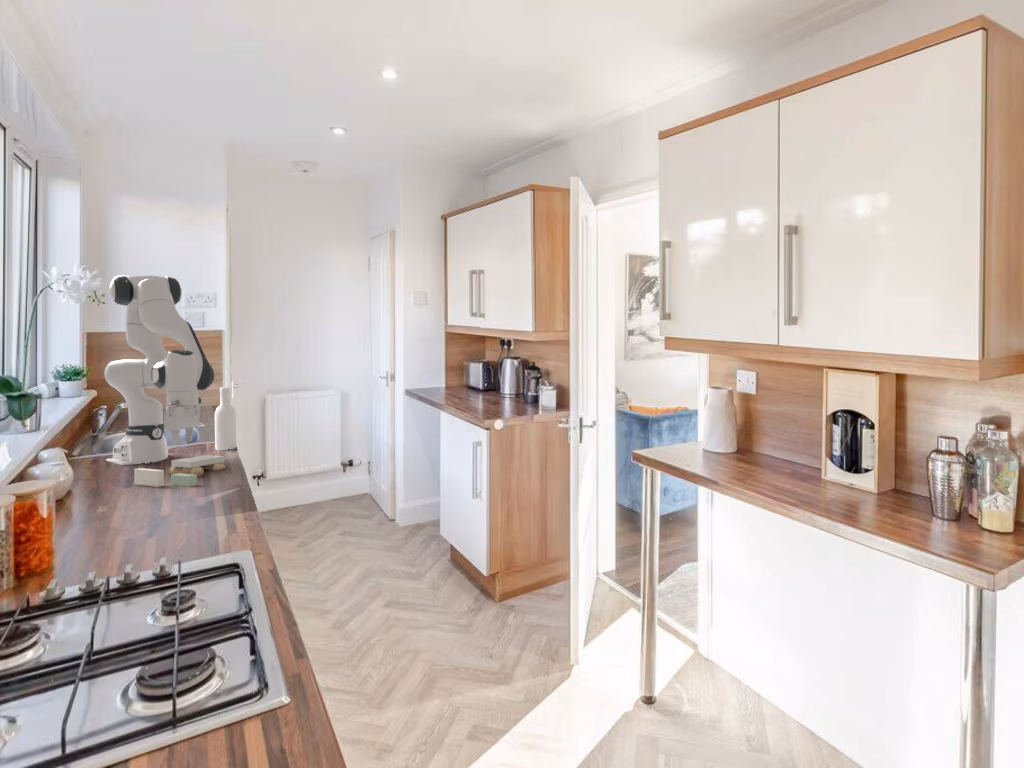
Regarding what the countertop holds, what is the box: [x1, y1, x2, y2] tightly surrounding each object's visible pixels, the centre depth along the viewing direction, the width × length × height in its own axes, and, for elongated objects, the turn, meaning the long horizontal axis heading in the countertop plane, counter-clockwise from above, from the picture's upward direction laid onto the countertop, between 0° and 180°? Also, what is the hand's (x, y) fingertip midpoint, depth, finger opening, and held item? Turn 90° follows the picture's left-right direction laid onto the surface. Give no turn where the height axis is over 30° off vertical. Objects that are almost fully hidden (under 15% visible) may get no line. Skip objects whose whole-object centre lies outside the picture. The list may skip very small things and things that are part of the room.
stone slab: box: [170, 454, 226, 468], centre depth 206 cm, size 9×14×2 cm, turn 158°
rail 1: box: [167, 466, 205, 478], centre depth 201 cm, size 12×4×4 cm, turn 68°
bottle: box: [214, 386, 237, 451], centre depth 239 cm, size 8×8×30 cm
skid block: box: [170, 473, 198, 488], centre depth 189 cm, size 8×3×4 cm, turn 68°
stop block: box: [133, 467, 165, 488], centre depth 189 cm, size 11×2×5 cm, turn 68°
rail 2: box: [198, 462, 226, 472], centre depth 210 cm, size 12×4×4 cm, turn 68°
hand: (182, 442), depth 189 cm, fingers open, 8 cm apart
